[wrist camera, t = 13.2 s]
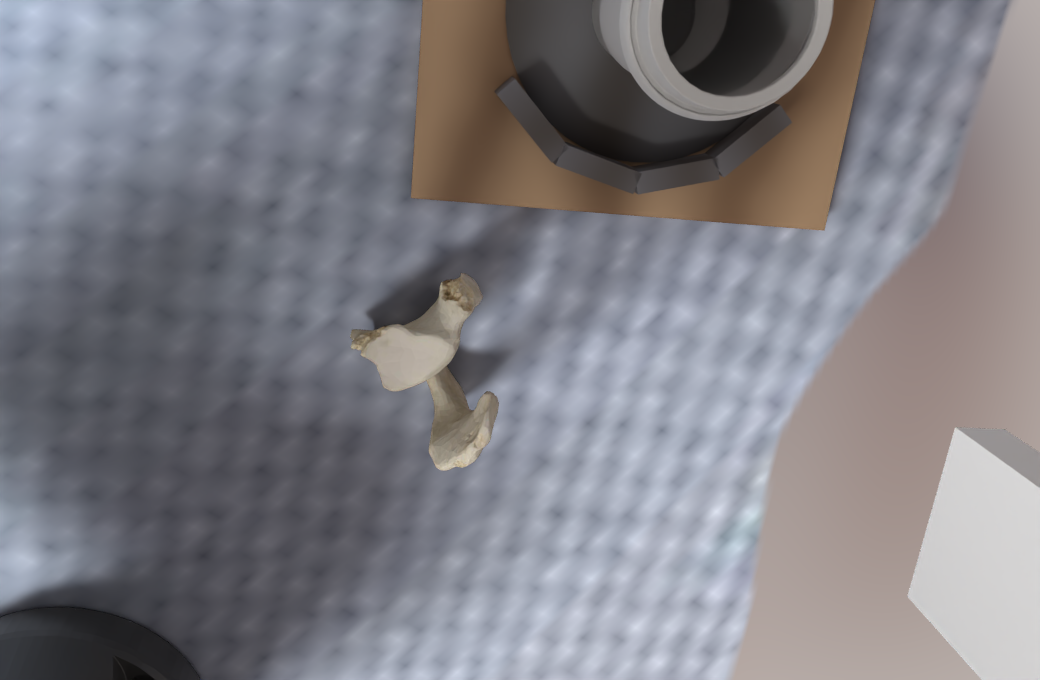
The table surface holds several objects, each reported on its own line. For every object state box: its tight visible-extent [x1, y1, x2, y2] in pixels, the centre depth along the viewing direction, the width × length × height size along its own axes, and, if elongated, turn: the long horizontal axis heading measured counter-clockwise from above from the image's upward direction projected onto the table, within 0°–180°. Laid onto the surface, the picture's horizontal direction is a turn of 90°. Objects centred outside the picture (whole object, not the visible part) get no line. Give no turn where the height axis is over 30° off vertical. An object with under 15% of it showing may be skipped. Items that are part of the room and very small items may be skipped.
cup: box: [592, 0, 834, 121], centre depth 33 cm, size 7×7×12 cm
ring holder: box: [411, 0, 875, 230], centre depth 39 cm, size 20×18×3 cm
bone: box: [350, 273, 499, 471], centre depth 41 cm, size 9×6×10 cm
